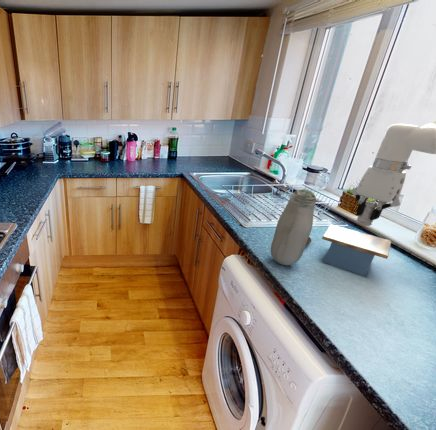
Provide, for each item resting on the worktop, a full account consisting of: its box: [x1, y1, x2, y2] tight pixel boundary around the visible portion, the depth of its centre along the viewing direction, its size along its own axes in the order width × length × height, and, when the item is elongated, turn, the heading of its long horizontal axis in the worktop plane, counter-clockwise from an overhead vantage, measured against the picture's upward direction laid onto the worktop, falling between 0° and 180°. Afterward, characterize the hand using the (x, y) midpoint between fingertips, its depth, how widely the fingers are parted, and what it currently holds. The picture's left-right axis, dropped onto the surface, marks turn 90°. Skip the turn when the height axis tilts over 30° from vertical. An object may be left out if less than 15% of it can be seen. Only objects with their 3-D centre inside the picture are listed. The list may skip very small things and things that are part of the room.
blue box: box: [323, 242, 376, 277], centre depth 104 cm, size 12×12×9 cm
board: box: [321, 223, 392, 260], centre depth 102 cm, size 18×14×1 cm
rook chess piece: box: [355, 200, 378, 227], centre depth 98 cm, size 4×4×8 cm
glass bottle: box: [270, 188, 317, 266], centre depth 100 cm, size 10×10×28 cm
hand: (366, 216), depth 98 cm, fingers closed on rook chess piece, 3 cm apart
